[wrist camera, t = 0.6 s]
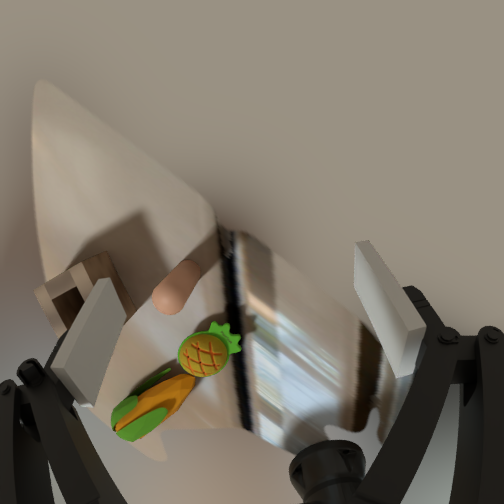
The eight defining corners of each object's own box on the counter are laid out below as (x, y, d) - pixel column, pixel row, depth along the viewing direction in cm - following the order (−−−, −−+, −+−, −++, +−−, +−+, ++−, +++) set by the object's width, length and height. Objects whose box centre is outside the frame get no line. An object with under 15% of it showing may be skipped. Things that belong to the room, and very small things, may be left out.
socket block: (136, 310, 46) (118, 331, 38) (89, 331, 46) (66, 352, 38) (106, 250, 44) (81, 261, 36) (60, 276, 44) (33, 290, 37)
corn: (94, 432, 41) (168, 373, 39) (106, 405, 49) (176, 346, 46) (129, 457, 43) (208, 405, 41) (138, 429, 50) (211, 375, 48)
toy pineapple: (171, 345, 47) (163, 362, 41) (219, 305, 46) (215, 319, 40) (203, 375, 48) (198, 393, 42) (251, 338, 47) (251, 355, 41)
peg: (205, 278, 45) (190, 307, 33) (182, 288, 45) (162, 319, 33) (193, 255, 44) (175, 276, 32) (171, 266, 44) (146, 290, 33)
